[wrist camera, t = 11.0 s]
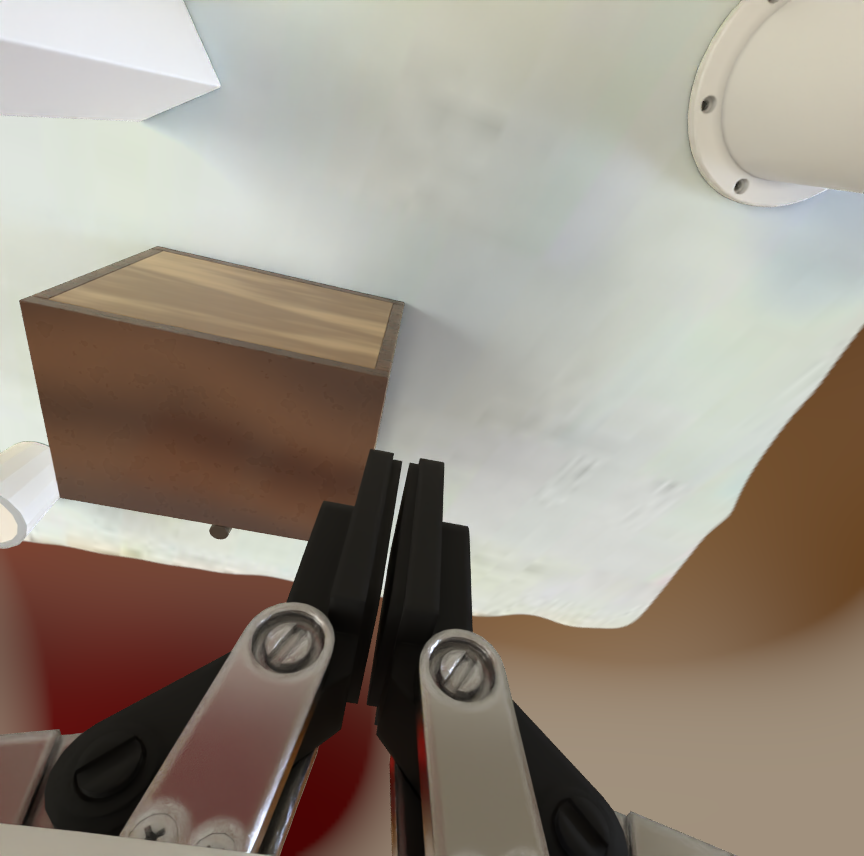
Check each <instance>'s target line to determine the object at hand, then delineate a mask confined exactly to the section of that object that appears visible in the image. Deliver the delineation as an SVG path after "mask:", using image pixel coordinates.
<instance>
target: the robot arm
mask: <svg viewBox="0 0 864 856" xmlns="http://www.w3.org/2000/svg"><path fill="white" fill-rule="evenodd" d="M703 101H705V102H706V106H705V108H704V109H703V110H702V109H701V105H702V102H703ZM688 137H689V142H690V147H691V152H692V156H693V158H694V160H695V163H696V165H697V167H698V170H699V172H700V173H701V174H702V176H703V177H704V178H705V180H706V181H707V182H708V184H709V185H710V186H711V187H712V188H714V189H715V190H716V191H717V192H719V193H720V194H721V195H722V196H725V197H727V198H729V199H731V200H733V201H736V202H738V203H743V204H747V205H751V206H761V207H776V206H784V205H790V204H794V203H797V202H800V201H803V200H806V199H809V198H811V197H814V196H816V195H818V194H820V193H822V192H824V191H826V190H828V189H834V190H842V191H849V192H856V193H863V194H864V0H741V2H740V3H739V4H738V5H737V6H736V7H735V8H734V10H733V11H732V12H731V13H730V14H729V15H728V16H727V18H726V19H725V21H724V22H723V24H722V25H721V27H720V28H719V30H718V31H717V33H716V34H715V36H714V37H713V39H712V40H711V42H710V44H709V46H708V49H707V51H706V53H705V55H704V57H703V59H702V61H701V63H700V65H699V68H698V71H697V75H696V78H695V81H694V84H693V87H692V91H691V97H690V104H689V110H688ZM737 182H738V185H737V187H736V188H735V189H734V187H735V184H736V183H737ZM393 456H394V453H390V452H385V451H380V450H374V449H370V451H369V454H368V458H367V462H366V466H365V469H364V473H363V477H362V481H361V484H360V488H359V492H358V495H357V499H356V503H355V506H351V505H346V504H340V503H335V502H329V501H323V503H322V505H321V507H320V510H319V513H318V516H317V518H316V521H315V524H314V527H313V529H312V532H311V535H310V538H309V541H308V543H307V546H306V549H305V552H304V555H303V557H302V560H301V563H300V566H299V569H298V571H297V574H296V577H295V580H294V583H293V586H292V589H291V591H290V594H289V597H288V600H287V602H286V603H280V604H278V605H275V606H272V607H269V608H267V609H265V610H264V611H263V612H261V613H259V614H258V615H257V616H255V617H254V619H253V620H252V621H251V622H250V623H249V625H248V626H247V627H246V629H245V630H244V632H243V634H242V635H241V637H240V639H239V640H238V642H237V643H236V645H235V647H234V649H233V650H232V651H231V652H229V653H227V654H225V655H224V656H222V657H220V658H218V659H216V660H215V661H212V662H211V663H209V664H207V665H205V666H203V667H201V668H199V669H198V670H196V671H194V672H192V673H190V674H188V675H186V676H185V677H183V678H181V679H179V680H177V681H175V682H173V683H172V684H170V685H168V686H166V687H164V688H162V689H160V690H158V691H157V692H155V693H153V694H151V695H149V696H147V697H146V698H144V699H142V700H140V701H138V702H136V703H134V704H132V705H130V706H129V707H127V708H125V709H123V710H121V711H119V712H117V713H116V714H114V715H112V716H110V717H108V718H106V719H104V720H103V721H101V722H99V723H97V724H95V725H94V726H92V727H91V728H90V729H88V730H87V731H85V732H84V733H81V734H72V735H61V733H60V730H47V731H36V732H26V733H15V734H5V735H0V856H279V855H280V852H281V849H282V847H283V844H284V841H285V838H286V836H287V833H288V830H289V828H290V825H291V822H292V819H293V816H294V814H295V811H296V808H297V806H298V803H299V800H300V798H301V795H302V792H303V789H304V787H305V784H306V781H307V779H308V776H309V773H310V770H311V767H312V765H313V762H314V760H315V757H316V754H317V750H318V746H319V745H321V744H322V743H323V742H325V741H326V740H327V739H329V738H330V737H331V736H333V735H334V734H335V733H337V732H338V731H339V730H340V729H341V727H342V721H343V716H344V711H345V706H346V702H350V703H356V704H357V703H358V699H359V695H360V690H361V686H362V681H363V676H364V672H365V667H366V662H367V658H368V653H369V648H370V644H371V639H372V634H373V630H374V625H375V621H376V616H377V611H378V606H379V600H380V595H381V590H382V584H383V578H384V571H385V565H386V559H387V553H388V547H389V540H390V534H391V528H392V522H393V516H394V509H395V503H396V497H397V491H398V485H399V479H400V472H401V466H402V461H398V460H393ZM443 489H444V462H438V461H433V460H428V459H422V458H420V461H419V464H414V463H410V464H409V468H408V473H407V477H406V482H405V487H404V491H403V496H402V500H401V505H400V510H399V514H398V519H397V524H396V528H395V533H394V537H393V542H392V547H391V552H390V557H389V563H388V569H387V576H386V582H385V588H384V595H383V601H382V608H381V615H380V621H379V628H378V633H377V640H376V647H375V653H374V659H373V666H372V672H371V678H370V685H369V691H368V698H367V705H369V706H376V707H377V710H376V717H375V725H378V726H377V736H378V737H379V739H380V740H381V742H382V743H383V744H384V746H385V747H386V749H387V750H388V752H389V753H390V761H389V772H390V773H389V774H390V806H391V808H390V809H391V845H392V856H736V855H734V854H732V853H729V852H727V851H725V850H722V849H720V848H717V847H715V846H713V845H710V844H708V843H705V842H703V841H700V840H698V839H696V838H694V837H691V836H689V835H686V834H684V833H682V832H679V831H677V830H674V829H672V828H670V827H667V826H665V825H663V824H660V823H658V822H655V821H653V820H651V819H648V818H646V817H643V816H641V815H639V814H636V813H634V812H630V813H629V814H628V815H627V816H626V815H623V814H621V813H618V812H616V811H614V810H613V809H612V808H611V807H610V806H609V804H608V803H607V802H606V800H605V799H604V798H603V796H602V795H601V794H600V793H599V792H598V791H597V790H596V789H595V788H594V787H593V786H592V785H591V784H590V782H589V781H588V780H587V779H586V778H585V777H584V776H583V775H582V774H581V773H580V772H579V771H578V770H577V769H576V768H575V766H573V764H572V763H571V762H570V761H569V760H568V759H567V758H566V757H565V756H564V755H563V753H561V752H560V750H559V749H558V748H557V747H556V746H555V745H554V744H553V743H552V742H551V741H550V740H549V738H548V737H546V735H545V734H544V733H543V732H542V731H541V730H540V729H539V728H538V727H537V726H536V725H535V723H534V722H533V721H532V720H531V719H530V718H529V717H528V716H527V715H526V714H525V713H524V712H523V711H522V709H520V707H519V706H518V705H517V704H516V703H515V702H514V701H513V700H512V697H511V693H510V689H509V685H508V681H507V676H506V672H505V668H504V666H503V663H502V660H501V658H500V656H499V654H498V653H497V652H496V650H495V649H494V648H493V647H492V645H491V644H489V643H488V642H487V641H486V640H485V639H484V638H482V637H481V636H479V635H477V634H475V633H473V629H472V598H471V567H470V536H469V528H468V526H463V525H457V524H452V523H446V522H442V517H443Z"/></svg>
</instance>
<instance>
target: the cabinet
mask: <svg viewBox="0 0 864 856" xmlns="http://www.w3.org/2000/svg"><path fill="white" fill-rule="evenodd" d="M19 302H20V307H21V311H22V316H23V321H24V326H25V331H26V336H27V340H28V345H29V350H30V355H31V360H32V365H33V370H34V374H35V379H36V384H37V389H38V394H39V399H40V404H41V408H42V413H43V418H44V423H45V428H46V433H47V437H48V442H49V447H50V452H51V457H52V462H53V467H54V471H55V476H56V481H57V486H58V491H59V496H60V498H65V499H70V500H76V501H82V502H88V503H93V504H99V505H105V506H110V507H116V508H122V509H128V510H133V511H139V512H145V513H151V514H156V515H162V516H168V517H173V518H179V519H185V520H191V521H196V522H202V523H208V524H214V525H219V526H225V527H231V528H236V529H242V530H248V531H254V532H259V533H265V534H271V535H277V536H282V537H288V538H294V539H299V540H305V541H309V538H310V535H311V532H312V529H313V527H314V524H315V521H316V518H317V516H318V513H319V510H320V507H321V505H322V503H323V501H329V502H335V503H340V504H346V505H351V506H355V503H356V499H357V495H358V492H359V488H360V484H361V481H362V477H363V473H364V469H365V466H366V462H367V458H368V454H369V451H370V449H374V450H375V447H376V442H377V437H378V432H379V427H380V422H381V418H382V413H383V408H384V403H385V398H386V393H387V388H388V383H389V378H390V373H391V368H392V363H393V358H394V353H395V348H396V343H397V338H398V333H399V328H400V323H401V318H402V313H403V308H404V302H400V301H395V300H391V299H386V298H382V297H378V296H373V295H369V294H365V293H360V292H356V291H351V290H347V289H343V288H338V287H334V286H329V285H325V284H321V283H316V282H312V281H308V280H303V279H299V278H294V277H290V276H286V275H281V274H277V273H272V272H268V271H264V270H259V269H255V268H251V267H246V266H242V265H237V264H233V263H229V262H224V261H220V260H215V259H211V258H207V257H202V256H198V255H194V254H189V253H185V252H180V251H176V250H172V249H167V248H163V247H159V246H157V247H154V248H152V249H149V250H147V251H144V252H141V253H139V254H136V255H134V256H131V257H129V258H126V259H124V260H121V261H119V262H116V263H113V264H111V265H108V266H106V267H103V268H101V269H98V270H96V271H93V272H91V273H88V274H85V275H83V276H80V277H78V278H75V279H73V280H70V281H68V282H65V283H63V284H60V285H58V286H55V287H52V288H50V289H47V290H45V291H42V292H40V293H37V294H35V295H32V296H29V297H26V298H24V299H21V300H20V301H19Z"/></svg>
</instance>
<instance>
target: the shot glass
mask: <svg viewBox="0 0 864 856" xmlns="http://www.w3.org/2000/svg"><path fill="white" fill-rule="evenodd" d="M59 497H60V496H59V491H58V486H57V481H56V476H55V471H54V467H53V462H52V457H51V452H50V447H49V446H46V445H43V444H40V443H37V442H21V443H18V444H15V445H13V446H11V447H10V448H8V449H6V450H4V451H3V452H1V453H0V548H9V547H12V546H16V545H19V544H20V543H21V542H22V541H23V540H24V538H25V537H26V536H27V535H28V534H29V533H30V532H31V530H32V529H33V528H34V527H35V526H36V524H37V523H38V522H39V521H40V520H41V519H42V517H43V516H44V515H45V514H46V513H47V511H48V510H49V509H50V508H51V507H52V505H53V504H54V503H55V502H56V501H57V500H58V498H59Z"/></svg>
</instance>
